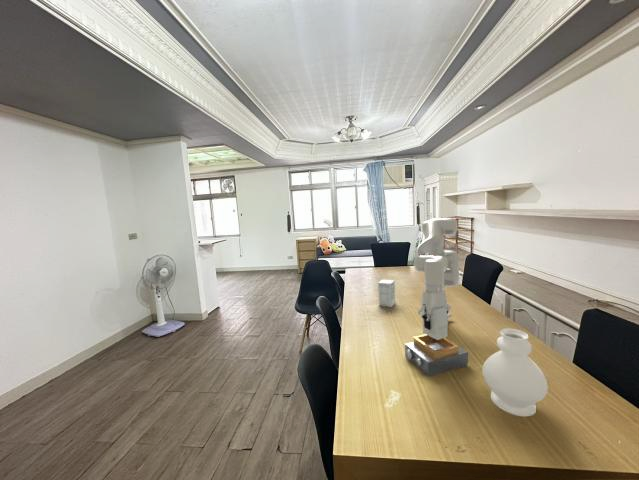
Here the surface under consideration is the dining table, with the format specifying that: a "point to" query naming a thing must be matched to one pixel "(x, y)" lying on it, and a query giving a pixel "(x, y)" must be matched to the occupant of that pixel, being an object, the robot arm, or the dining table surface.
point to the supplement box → (386, 293)
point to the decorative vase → (514, 375)
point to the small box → (437, 324)
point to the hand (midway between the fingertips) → (434, 326)
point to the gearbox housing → (435, 354)
